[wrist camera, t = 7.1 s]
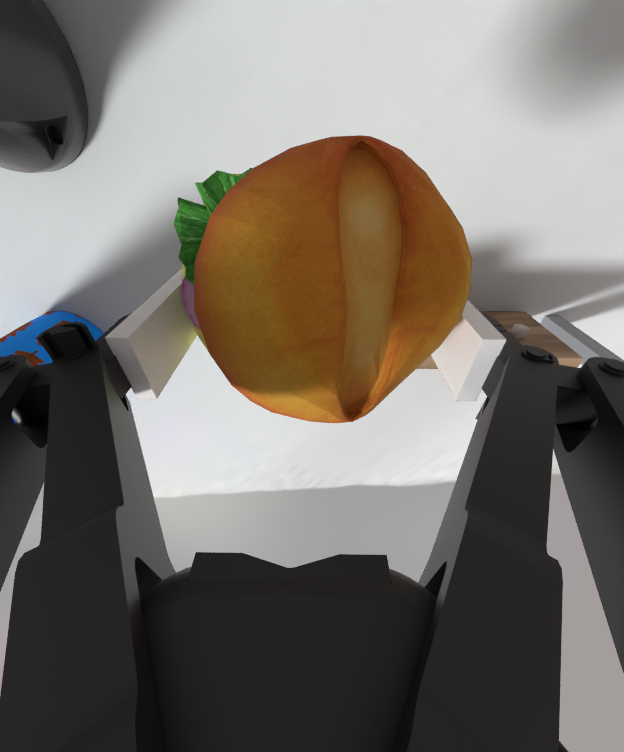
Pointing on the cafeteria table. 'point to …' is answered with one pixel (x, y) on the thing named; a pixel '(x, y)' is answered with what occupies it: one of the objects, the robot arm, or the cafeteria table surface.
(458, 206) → the cafeteria table surface
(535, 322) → the door
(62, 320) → the thermos
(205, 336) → the cheeseburger
